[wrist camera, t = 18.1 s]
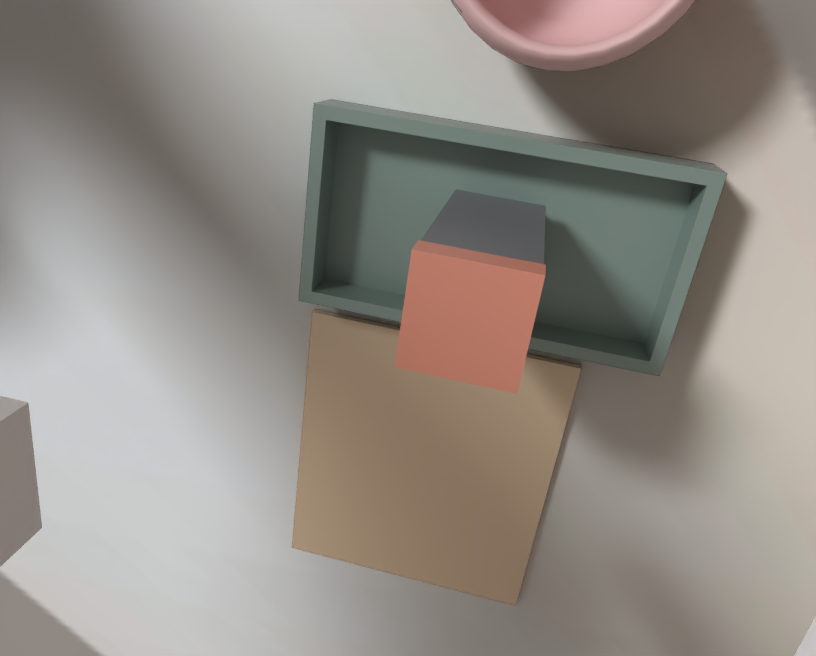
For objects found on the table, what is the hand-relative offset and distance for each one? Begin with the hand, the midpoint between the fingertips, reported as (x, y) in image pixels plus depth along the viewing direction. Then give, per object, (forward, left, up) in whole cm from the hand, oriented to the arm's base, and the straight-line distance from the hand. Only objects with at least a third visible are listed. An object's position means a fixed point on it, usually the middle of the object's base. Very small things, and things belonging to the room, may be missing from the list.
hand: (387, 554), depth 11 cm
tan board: (-1, -14, -23) cm, 27 cm away
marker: (0, 0, -22) cm, 22 cm away
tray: (0, 0, -23) cm, 23 cm away
